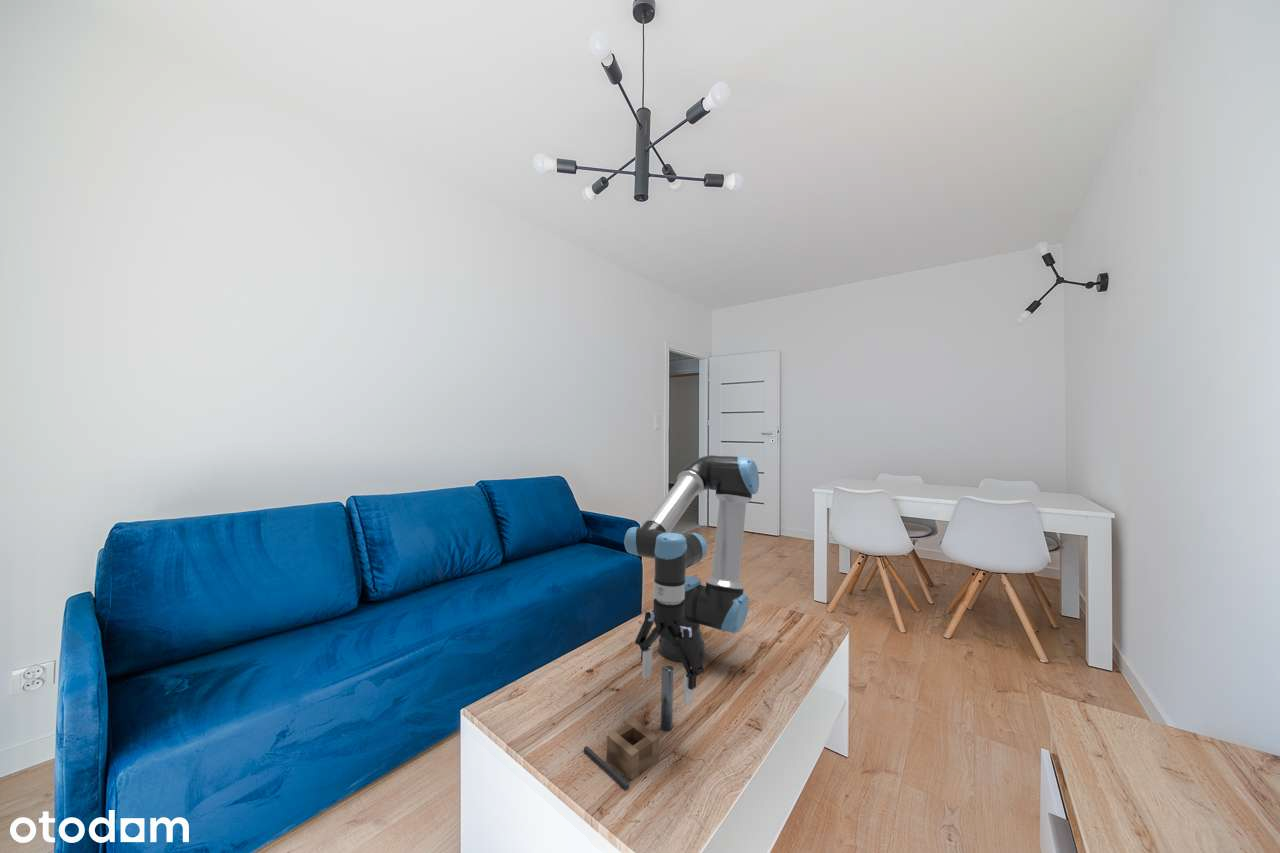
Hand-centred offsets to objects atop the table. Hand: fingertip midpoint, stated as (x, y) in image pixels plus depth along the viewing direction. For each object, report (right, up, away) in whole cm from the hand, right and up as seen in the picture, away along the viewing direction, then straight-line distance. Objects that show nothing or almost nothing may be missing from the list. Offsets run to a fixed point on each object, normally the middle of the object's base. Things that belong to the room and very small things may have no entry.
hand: (666, 688), depth 104 cm
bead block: (-8, -9, -10) cm, 16 cm away
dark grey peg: (0, -10, 0) cm, 10 cm away
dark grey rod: (-14, -9, -13) cm, 21 cm away
